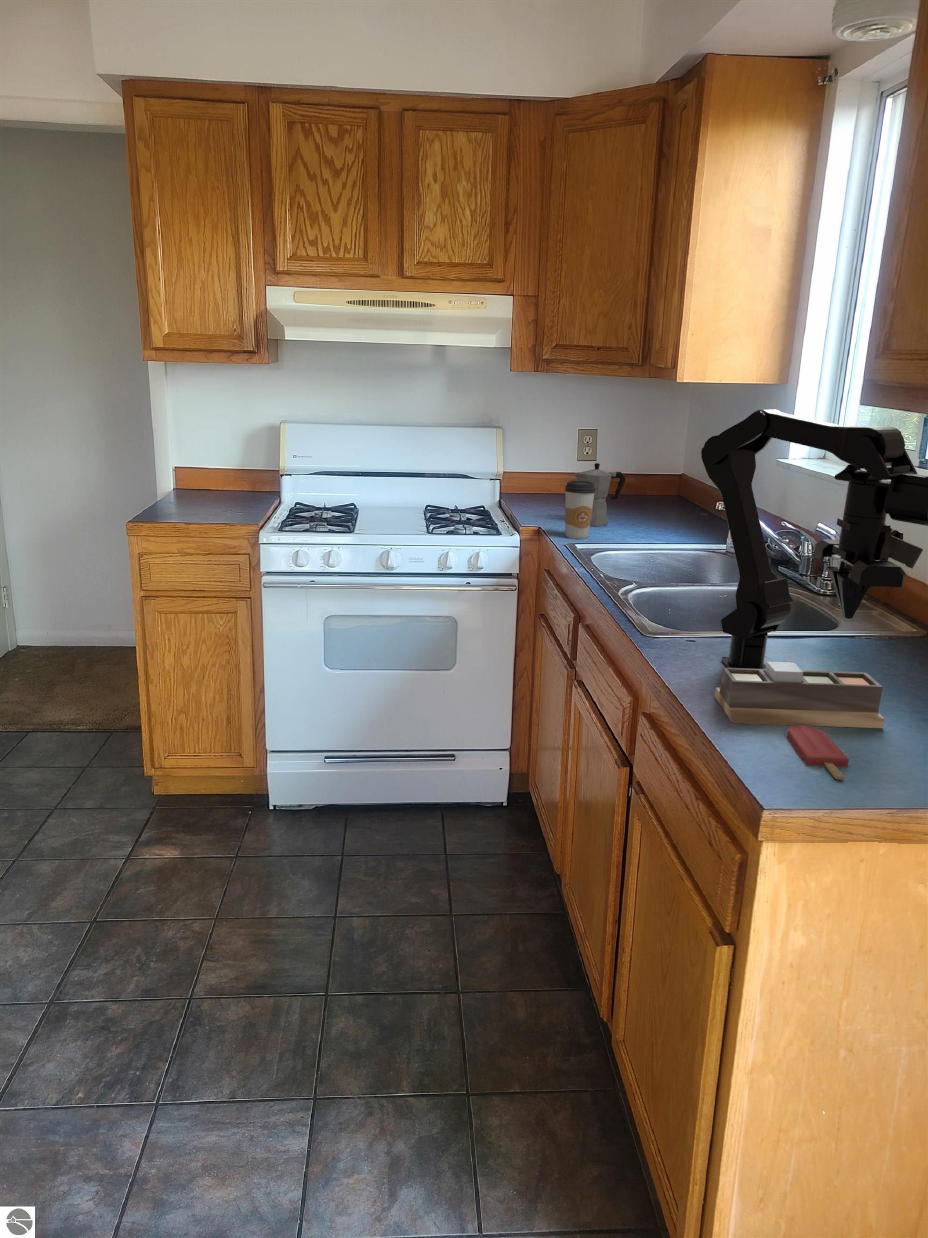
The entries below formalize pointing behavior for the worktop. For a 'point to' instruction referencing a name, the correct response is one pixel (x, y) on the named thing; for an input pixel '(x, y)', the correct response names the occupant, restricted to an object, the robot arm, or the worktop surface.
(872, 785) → the worktop surface
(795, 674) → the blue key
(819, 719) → the brown long open box
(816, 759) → the popsicle
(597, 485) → the coffeepot
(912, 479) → the robot arm
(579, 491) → the coffee cup
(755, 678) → the ivory key
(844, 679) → the terracotta key
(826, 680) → the sage key
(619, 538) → the worktop surface
